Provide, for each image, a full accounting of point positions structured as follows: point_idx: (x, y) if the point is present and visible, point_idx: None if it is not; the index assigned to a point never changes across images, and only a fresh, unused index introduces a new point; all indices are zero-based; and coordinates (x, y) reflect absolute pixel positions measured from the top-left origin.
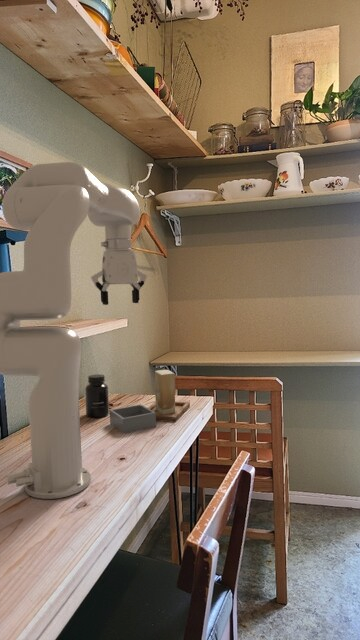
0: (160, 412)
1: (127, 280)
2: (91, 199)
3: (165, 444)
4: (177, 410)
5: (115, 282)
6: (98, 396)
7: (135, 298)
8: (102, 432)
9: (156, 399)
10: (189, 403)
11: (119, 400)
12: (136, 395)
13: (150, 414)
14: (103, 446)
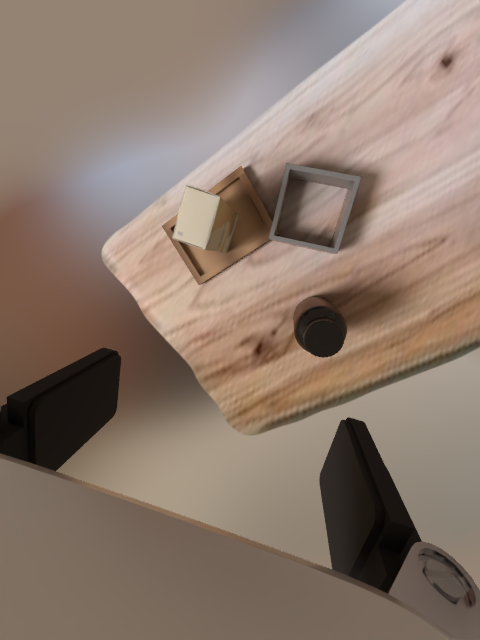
0: (235, 224)
1: (25, 527)
2: None
3: (340, 70)
4: None
5: (324, 593)
6: (330, 305)
7: (97, 379)
8: (373, 221)
9: (224, 244)
10: (164, 225)
11: (232, 359)
12: (191, 361)
13: (298, 165)
14: (423, 150)
